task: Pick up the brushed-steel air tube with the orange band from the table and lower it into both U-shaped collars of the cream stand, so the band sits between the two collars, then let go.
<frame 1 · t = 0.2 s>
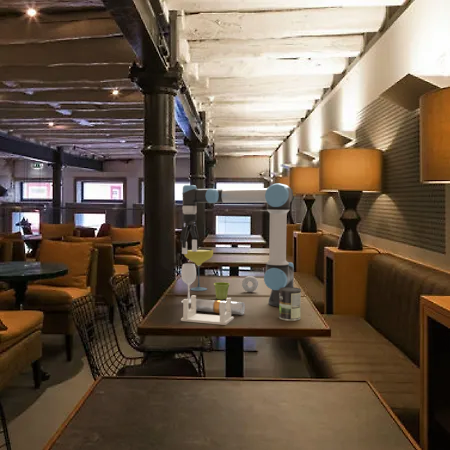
hand: (189, 252, 265), 28 cm above the table, tool pointing down, fingers open, 13 cm apart
wineglass: (188, 302, 269), on the table
donut: (250, 292, 298), on the table
cocktail glass: (198, 289, 307), on the table
air tube: (218, 312, 243), on the table
collar stand: (207, 319, 229), on the table
plant pot: (221, 298, 279), on the table
coffee can: (289, 318, 233), on the table
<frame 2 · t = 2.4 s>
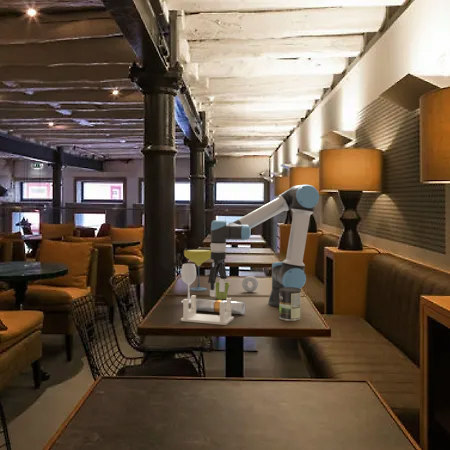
hand: (217, 294, 243), 10 cm above the table, tool pointing down, fingers open, 13 cm apart
air tube: (218, 312, 243), on the table, tilted 13°
everything else where it was.
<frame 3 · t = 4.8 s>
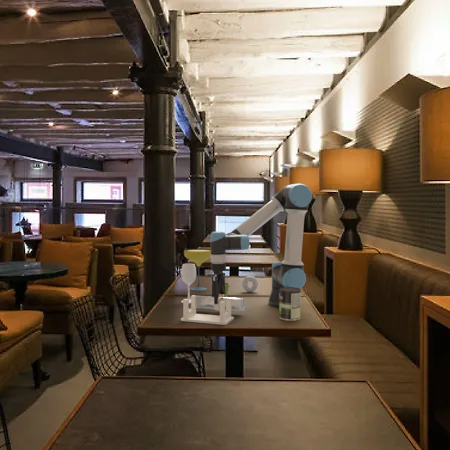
hand: (219, 308, 243), 2 cm above the table, tool pointing down, fingers closed on air tube, 6 cm apart
air tube: (219, 309, 243), point 2 cm above the table, touching gripper
everything else where it was.
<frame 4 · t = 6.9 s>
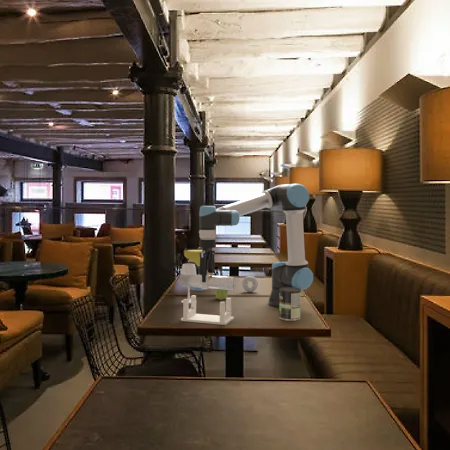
hand: (207, 287, 228), 15 cm above the table, tool pointing down, fingers closed on air tube, 6 cm apart
air tube: (206, 288, 228), point 15 cm above the table, touching gripper
everything else where it was.
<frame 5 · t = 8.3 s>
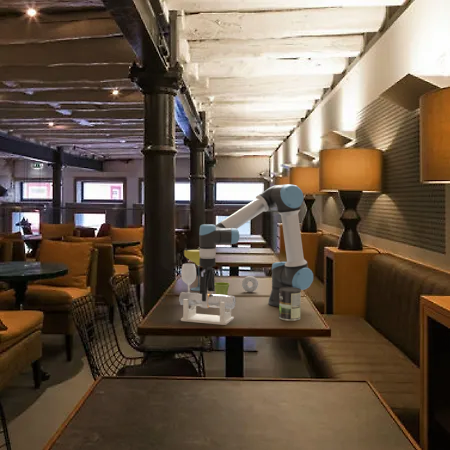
hand: (207, 306, 229), 6 cm above the table, tool pointing down, fingers closed on air tube, 6 cm apart
air tube: (206, 306, 228), point 6 cm above the table, touching gripper
everything else where it was.
when the fingers open (4 cm above the table, at t = 9.1 s): air tube stays where it is, resting on collar stand.
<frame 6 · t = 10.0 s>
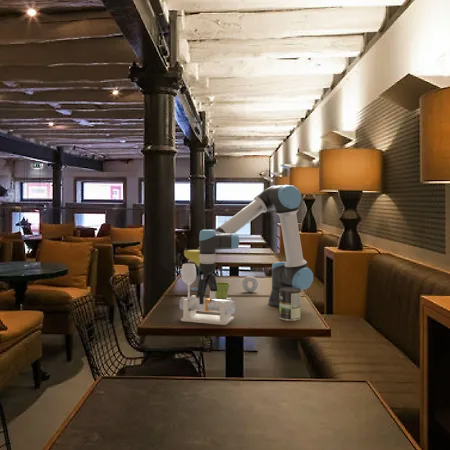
hand: (207, 307, 229), 6 cm above the table, tool pointing down, fingers open, 13 cm apart
air tube: (207, 311, 229), point 4 cm above the table, touching collar stand
everything else where it was.
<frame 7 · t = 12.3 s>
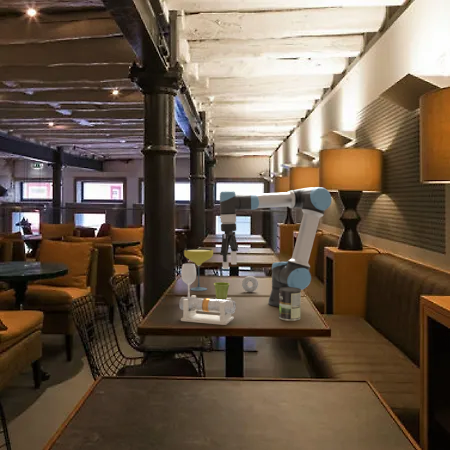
hand: (229, 266, 238), 24 cm above the table, tool pointing down, fingers open, 13 cm apart
nothing on the table moved.
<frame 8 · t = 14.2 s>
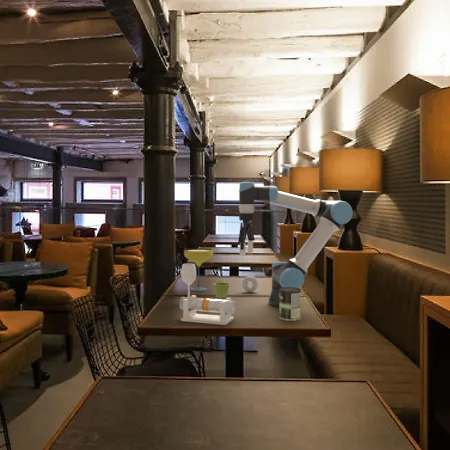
hand: (246, 254, 246), 29 cm above the table, tool pointing down, fingers open, 13 cm apart
nothing on the table moved.
at the end: air tube 0.2 cm off-centre on the collar stand, point 3.9 cm above the collar stand's base; air tube touching collar stand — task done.
